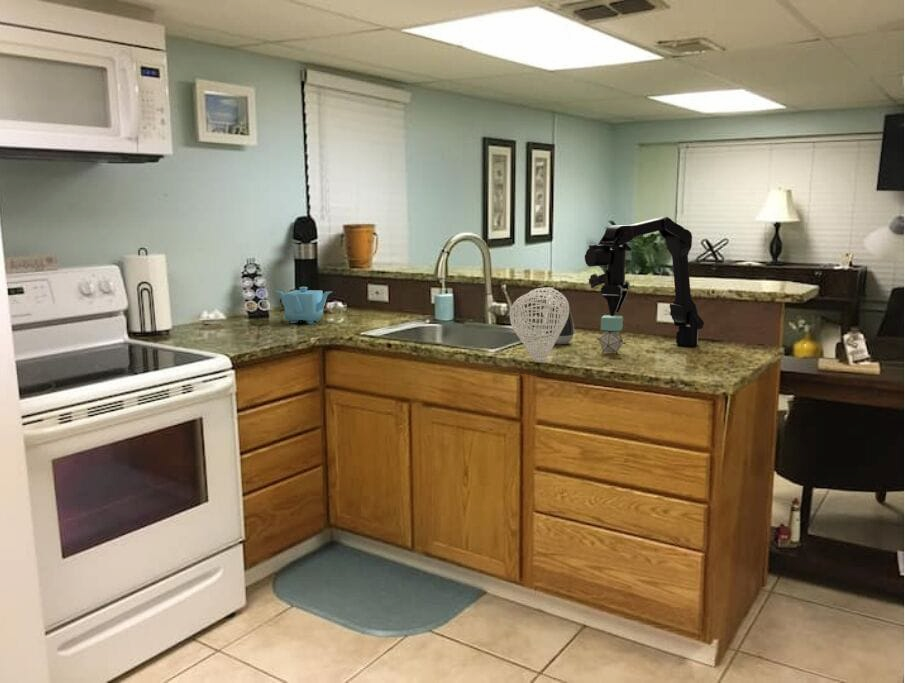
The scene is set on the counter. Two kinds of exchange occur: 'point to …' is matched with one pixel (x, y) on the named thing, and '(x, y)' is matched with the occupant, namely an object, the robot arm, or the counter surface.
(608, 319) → the teal block
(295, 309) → the teakettle
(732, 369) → the counter surface
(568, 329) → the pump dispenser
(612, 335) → the game die
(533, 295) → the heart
